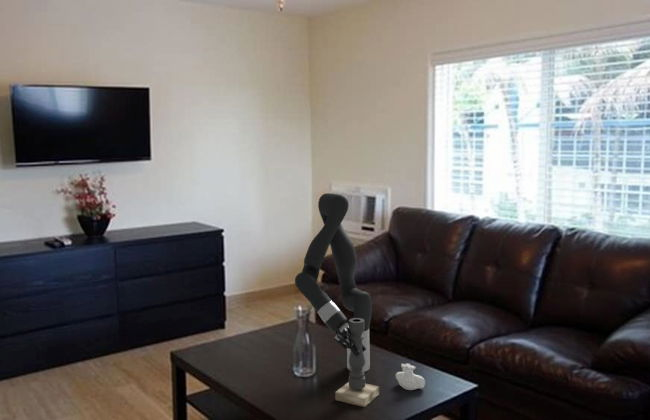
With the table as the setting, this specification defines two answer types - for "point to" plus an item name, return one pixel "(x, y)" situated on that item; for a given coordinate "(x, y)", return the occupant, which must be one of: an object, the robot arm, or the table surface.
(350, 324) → the candle holder
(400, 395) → the table surface
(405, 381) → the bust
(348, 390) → the birch plate
